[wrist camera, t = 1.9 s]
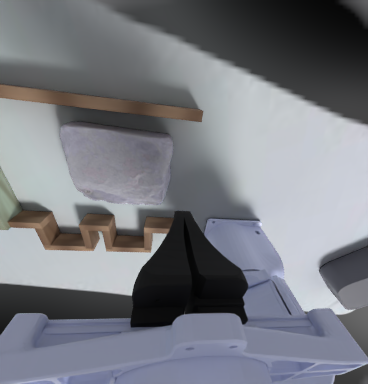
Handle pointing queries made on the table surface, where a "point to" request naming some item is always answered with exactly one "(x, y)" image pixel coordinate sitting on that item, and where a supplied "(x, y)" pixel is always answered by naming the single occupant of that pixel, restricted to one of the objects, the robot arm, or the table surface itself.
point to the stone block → (118, 162)
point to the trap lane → (92, 223)
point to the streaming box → (348, 279)
